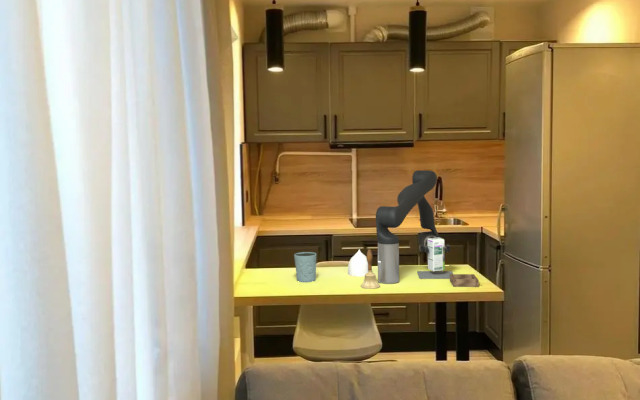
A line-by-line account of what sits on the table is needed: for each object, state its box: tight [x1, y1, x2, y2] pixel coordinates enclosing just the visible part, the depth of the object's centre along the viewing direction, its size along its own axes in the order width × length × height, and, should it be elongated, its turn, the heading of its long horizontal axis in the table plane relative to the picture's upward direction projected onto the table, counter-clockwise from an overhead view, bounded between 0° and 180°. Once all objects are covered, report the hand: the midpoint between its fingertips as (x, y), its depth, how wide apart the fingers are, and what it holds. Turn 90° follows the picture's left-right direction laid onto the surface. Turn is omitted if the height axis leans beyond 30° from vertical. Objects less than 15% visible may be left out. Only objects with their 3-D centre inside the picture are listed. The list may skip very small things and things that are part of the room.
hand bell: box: [360, 249, 381, 290], centre depth 236 cm, size 8×8×16 cm
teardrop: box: [347, 248, 368, 277], centre depth 260 cm, size 11×11×12 cm
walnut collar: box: [449, 273, 480, 288], centre depth 238 cm, size 10×10×3 cm
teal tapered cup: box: [293, 251, 317, 283], centre depth 249 cm, size 10×10×12 cm
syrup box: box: [427, 237, 446, 271], centre depth 253 cm, size 6×6×14 cm
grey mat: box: [416, 270, 454, 280], centre depth 253 cm, size 16×12×1 cm
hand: (436, 251), depth 250 cm, fingers closed on syrup box, 7 cm apart
